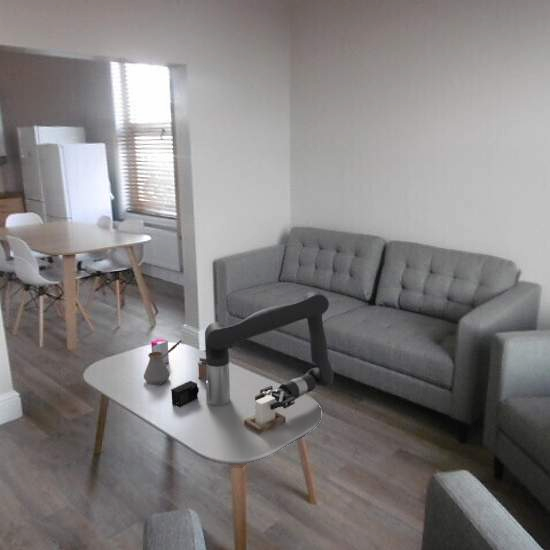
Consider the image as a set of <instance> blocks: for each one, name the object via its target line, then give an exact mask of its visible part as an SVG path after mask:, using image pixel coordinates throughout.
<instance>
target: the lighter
mask: <svg viewBox="0 0 550 550" xmlns="http://www.w3.org/2000/svg"><path fill="white" fill-rule="evenodd" d="M198 359H199V362H198V363H197V365H198V380H201V381H207V367H206V357H199V358H198Z"/></svg>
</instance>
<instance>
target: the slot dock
mask: <svg viewBox="0 0 550 550" xmlns="http://www.w3.org/2000/svg"><path fill="white" fill-rule="evenodd" d="M285 422H286V416H284V415H282V414H281V413H279V412H277V411H275V419H274V420H272V421H270V422H268V423H266V424H264V425H262V426H259V425H257V424H256V423H255V414H254V415H253V416H250V417H248V418H246V419H244V421H243V423H244V426H246V427H247V428H249V429H250V430H252V431H254V432H255V433H256V434H258V435H262V434H264V433H266V432H268V431H269V430H271V429H274V428H275V427H277V426H279V425H281V424H284V423H285Z"/></svg>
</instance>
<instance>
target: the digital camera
mask: <svg viewBox="0 0 550 550" xmlns="http://www.w3.org/2000/svg"><path fill="white" fill-rule="evenodd" d="M199 389H200V388H199V387H198V383H197V382H194V381H192V380H189V381H187V382H184V383H183V384H180V385H178V386H175V387H174V388H171V390H170V392H171V404H173V405H172V406H174V407H176V406H177V408H178V407H179V408H182V407H183V406H185V405H188V404H190V403H192V402H193V401H195V400H197V399H198V398H199V396H198V395H199V392H200V390H199Z"/></svg>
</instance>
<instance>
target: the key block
mask: <svg viewBox="0 0 550 550" xmlns="http://www.w3.org/2000/svg"><path fill="white" fill-rule="evenodd" d="M274 402H276V400H275V398H274V397H272V395H271V394H270V395H268V394H267V395H265V397H263V398H261V399H258V400H256V401H255V400H254V403H255V405H254V409H255V411H254V413H255V414H254V415H255V423H256V424H257V425H259V426H262V425H264V424H266V423H268V422H270V421H272V420H274V419H275V412H276V409H273V410H271V409H270V404H272V403H274Z"/></svg>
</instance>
